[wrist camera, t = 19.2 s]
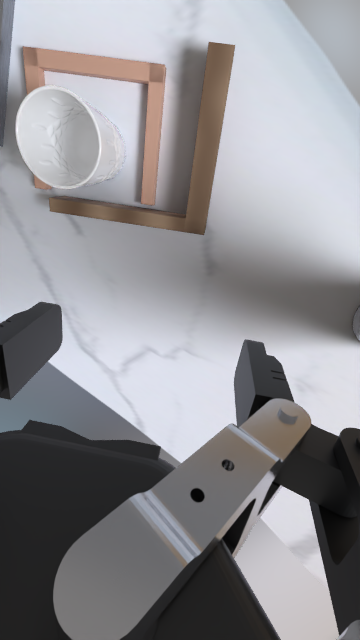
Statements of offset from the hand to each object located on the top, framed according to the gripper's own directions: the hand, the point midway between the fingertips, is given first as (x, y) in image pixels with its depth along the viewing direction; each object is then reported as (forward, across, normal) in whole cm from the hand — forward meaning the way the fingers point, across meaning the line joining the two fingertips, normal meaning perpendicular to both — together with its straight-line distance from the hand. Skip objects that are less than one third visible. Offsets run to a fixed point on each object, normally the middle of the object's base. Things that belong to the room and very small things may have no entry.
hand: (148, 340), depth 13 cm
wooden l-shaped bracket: (+28, +8, -9) cm, 31 cm away
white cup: (+28, +13, -8) cm, 32 cm away
